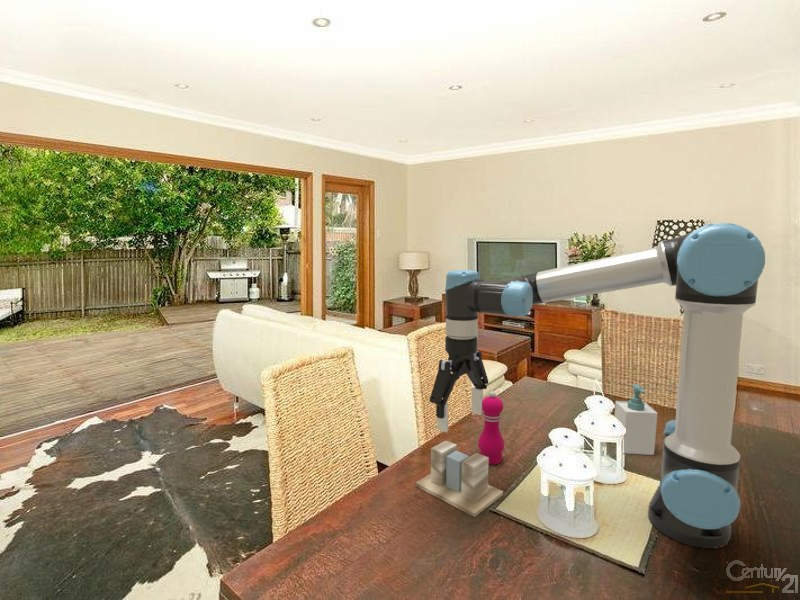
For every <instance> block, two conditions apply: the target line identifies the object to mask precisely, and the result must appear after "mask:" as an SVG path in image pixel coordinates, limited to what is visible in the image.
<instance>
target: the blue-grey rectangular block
mask: <svg viewBox="0 0 800 600" xmlns="http://www.w3.org/2000/svg"><path fill="white" fill-rule="evenodd" d="M469 457H470V455H469V454H468V455H467V454H465V453H464V452H460V451H458V450H457V451H455V452H453V453H451V454H449V455H448V456H446V487H448V488H450V489H452V490H454V491H456V492H458V493H459V492H461V482H462V461H464V460H465V459H467V458H469Z"/></svg>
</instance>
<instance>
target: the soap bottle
mask: <svg viewBox="0 0 800 600" xmlns="http://www.w3.org/2000/svg"><path fill="white" fill-rule="evenodd" d="M631 386H632V387H633V394H634V395H633V396H631V397H630V399H629V400H628V401H627V400H615V405H614V408H615V409H614V417H616V418H617V419H618V420H619V421H620V422H621V423H622V424H623V426H624V427H625V428H626V435H625V438H624V451H625V453H624V454H629V455H648V456H649V455H650V456H654V455H655V449H656V446H655V445H656V436H657V435H656V432H657V423H658V412H657V411H656V410H655V409H654V408H653V407H652V406H650V405H649V404H648V403H647V402H645V401H643V398H642V397H640V394H646V391H645V389H643V388H642V387H641V386H640V385H639V384H638V383H633V384H632V385H631Z"/></svg>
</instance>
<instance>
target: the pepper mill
mask: <svg viewBox="0 0 800 600" xmlns="http://www.w3.org/2000/svg"><path fill="white" fill-rule="evenodd" d="M496 394H497V393H496V391H493V390H492V391H490V392H489V395H488V396H485V397H484V398H482V415H483V416H482V418H483V420H484V427H483V430H482V431H481V434H480V435H479V438H478V440H477V441H478V443H477V446H478V448H479V454H481V455H483V456H486V457H488V458H489V465H498V464H500V463H501V462H502V461H503V453H502V452H503V451H504V449H505V441H504V438H503V435H502V433H501V429H500V421H501V420H502V414H501V413H502V412H503V411H504V403H503V401H502V399H501V398H500V397H498V396H497V395H496Z"/></svg>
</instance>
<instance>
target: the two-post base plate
mask: <svg viewBox="0 0 800 600" xmlns="http://www.w3.org/2000/svg"><path fill="white" fill-rule="evenodd" d="M455 451H458V444H456V443H453V442H452V441H448V440H444V441H442V442H440V443H439V444H437V445H434V446H433V447H431V448H430V474H428V475H426V476H424V477H423V478H421V479H419V480H418V481H416V482H415V487H416V488H417V489H421V490H422V491H424V492H426V493H427V494H430V495H432V496H434V497H435V498H437V499H439V500H441V501H443V502H445V503H446V504H448V505H451V506H452V507H454V508H457V509H458V510H460V511H462V512H464V513H466V515H469V516H472V517H473V518H475V517H477V516H478V515H479V514H481V513H482V512H484V511H485V510H486V509H488V508H489V507H490V506H491V505H492V504H494V503H496V501H497V500H499V499H501V498H502V497H503V496H504V490H501V489H498V488H497V487H494V486H492V485H491V484H489V465H490V464H489V458H488V457H486V456H483V455H481V454H480V453H478V452H476V453H474V454H472V455H469V458H467V459H465V460H464V461H462V482H461V492H459V493H458V492H456V491H454V490H452V489H450V488H448V487H446V456H448V455H449V454H451V453H453V452H455Z"/></svg>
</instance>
